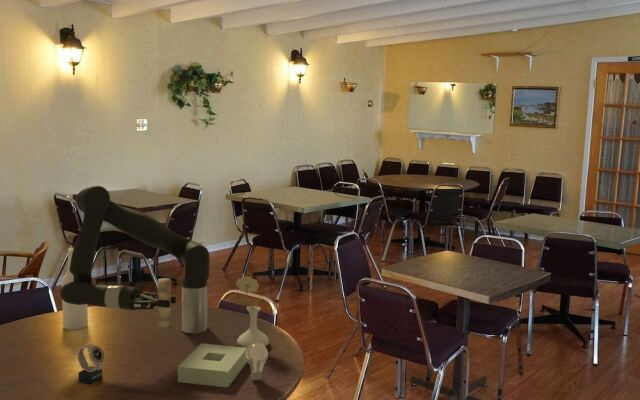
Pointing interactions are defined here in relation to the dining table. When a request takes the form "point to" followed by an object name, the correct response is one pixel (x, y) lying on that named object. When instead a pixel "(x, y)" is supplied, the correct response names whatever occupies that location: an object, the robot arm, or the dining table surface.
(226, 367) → the hole block
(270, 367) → the dining table surface
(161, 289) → the peg
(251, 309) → the flower in vase
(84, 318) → the alcohol
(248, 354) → the light bulb
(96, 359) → the watch
